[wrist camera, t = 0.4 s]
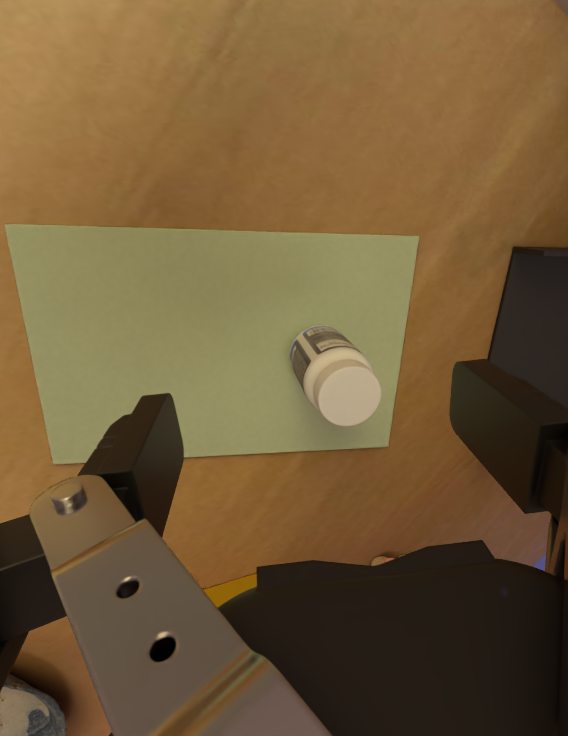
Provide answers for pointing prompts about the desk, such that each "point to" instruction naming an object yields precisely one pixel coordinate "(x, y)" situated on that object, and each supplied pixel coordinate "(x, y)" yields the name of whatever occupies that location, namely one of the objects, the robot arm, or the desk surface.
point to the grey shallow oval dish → (29, 711)
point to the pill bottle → (335, 376)
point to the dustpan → (535, 321)
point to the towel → (205, 330)
